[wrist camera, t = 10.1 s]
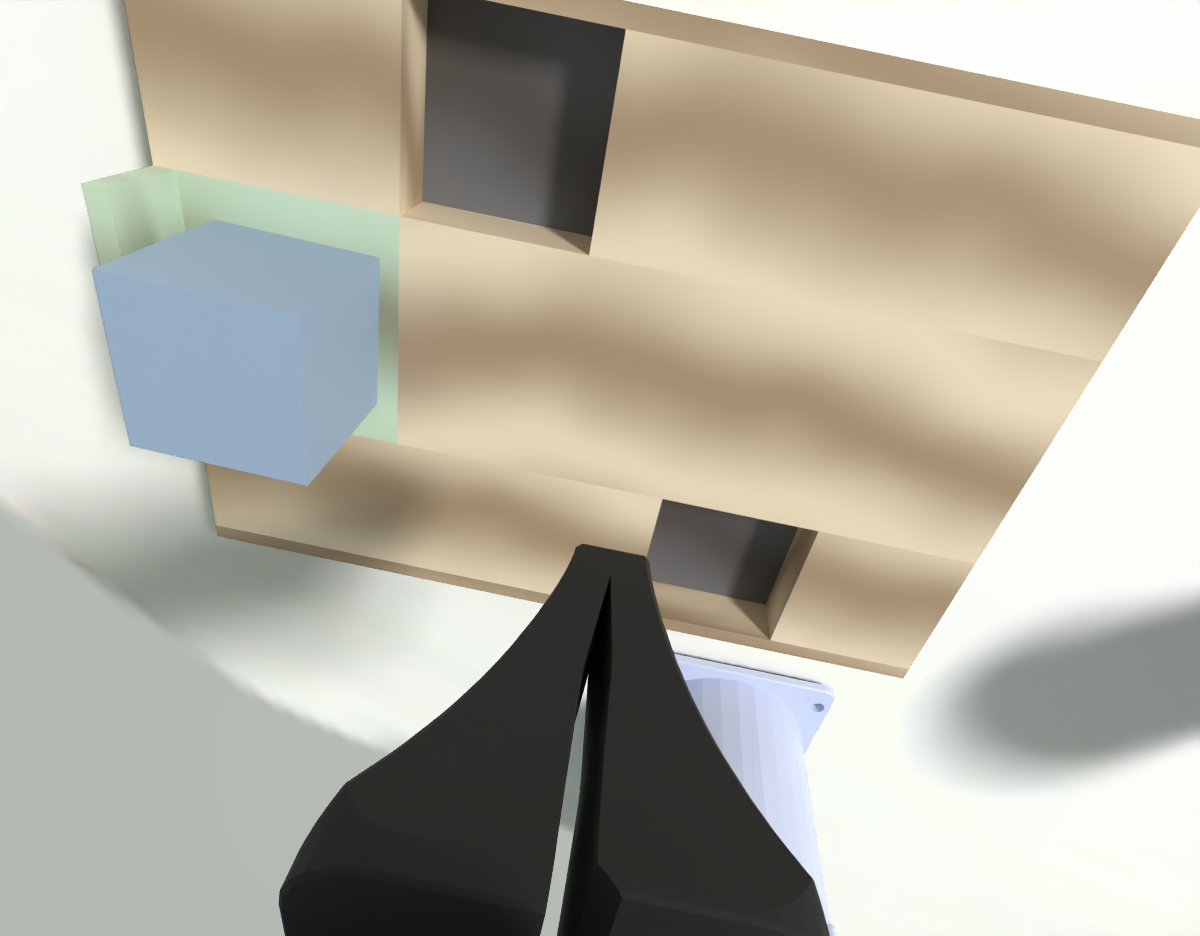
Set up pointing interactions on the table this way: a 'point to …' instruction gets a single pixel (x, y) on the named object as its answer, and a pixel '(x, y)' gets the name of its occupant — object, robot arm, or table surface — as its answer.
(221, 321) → the block
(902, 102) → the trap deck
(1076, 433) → the table surface
